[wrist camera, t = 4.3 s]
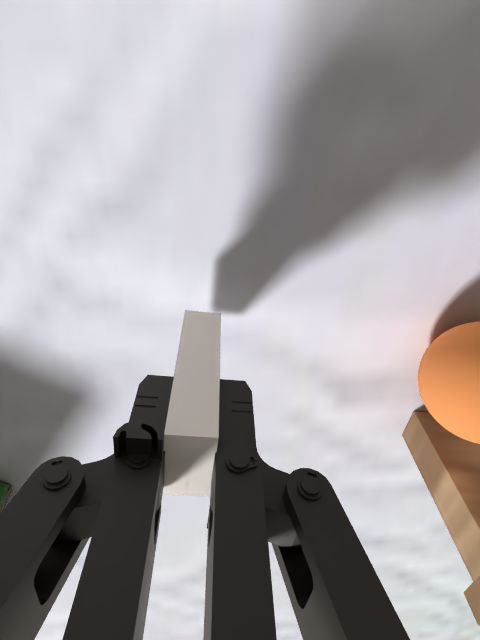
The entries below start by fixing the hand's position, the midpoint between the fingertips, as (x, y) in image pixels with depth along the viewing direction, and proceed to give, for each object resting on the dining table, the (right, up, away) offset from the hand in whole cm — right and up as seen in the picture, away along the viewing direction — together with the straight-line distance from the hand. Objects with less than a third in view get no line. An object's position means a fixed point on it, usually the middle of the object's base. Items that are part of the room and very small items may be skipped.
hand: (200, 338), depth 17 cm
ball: (+13, -2, +1) cm, 13 cm away
